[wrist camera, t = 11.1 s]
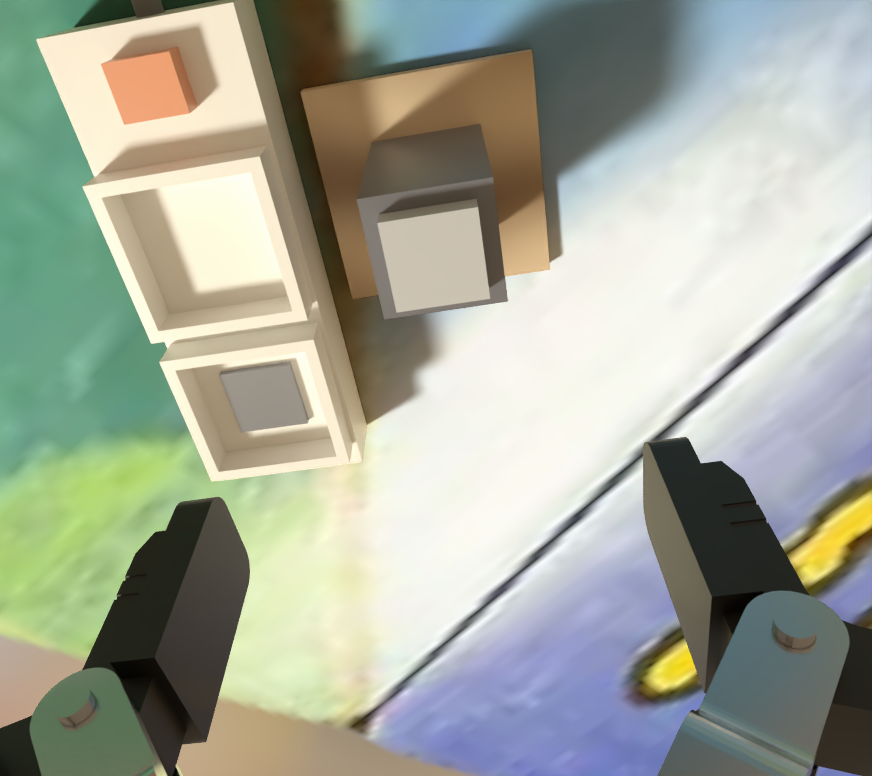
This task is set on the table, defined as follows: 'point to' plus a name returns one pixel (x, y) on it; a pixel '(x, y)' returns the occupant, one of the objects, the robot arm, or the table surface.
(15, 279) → the table surface
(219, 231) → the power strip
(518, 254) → the coaster
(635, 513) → the table surface
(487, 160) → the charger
